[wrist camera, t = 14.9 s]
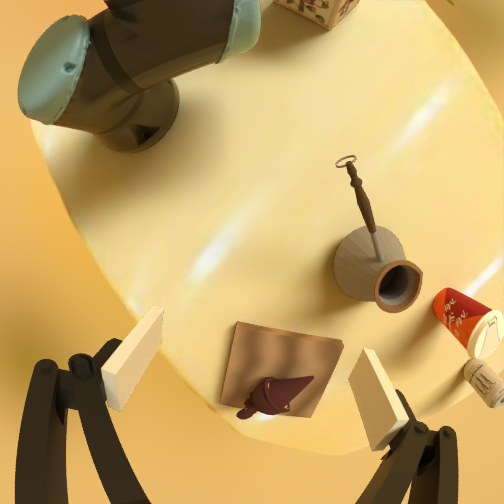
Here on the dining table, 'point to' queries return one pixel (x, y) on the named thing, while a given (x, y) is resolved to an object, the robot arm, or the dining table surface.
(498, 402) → the energy drink can
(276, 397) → the icecream
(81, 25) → the robot arm
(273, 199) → the dining table surface
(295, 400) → the serving board
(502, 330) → the coffee cup
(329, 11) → the decorative jar
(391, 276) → the coffee pot
